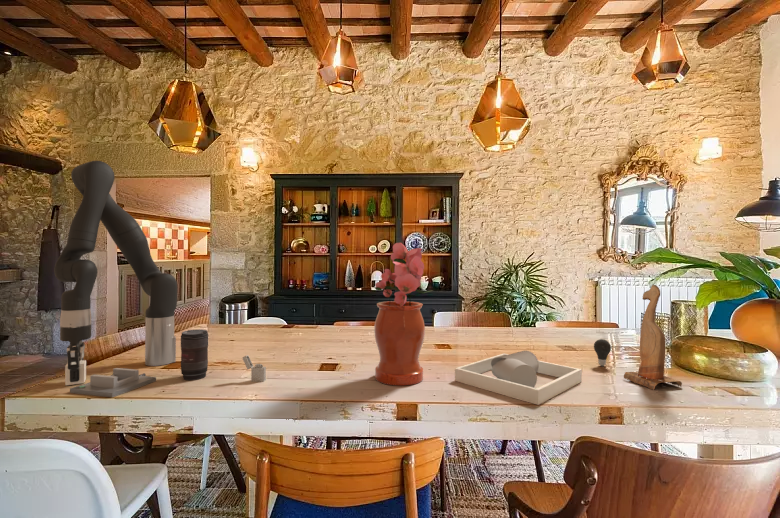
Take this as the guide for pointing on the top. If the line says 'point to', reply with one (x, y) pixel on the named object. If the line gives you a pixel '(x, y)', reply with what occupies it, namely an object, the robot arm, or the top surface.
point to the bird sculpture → (651, 347)
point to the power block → (113, 383)
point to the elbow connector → (517, 368)
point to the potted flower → (400, 321)
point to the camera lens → (194, 354)
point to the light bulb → (602, 350)
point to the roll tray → (529, 394)
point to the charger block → (81, 373)
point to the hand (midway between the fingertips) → (75, 379)
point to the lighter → (255, 370)
